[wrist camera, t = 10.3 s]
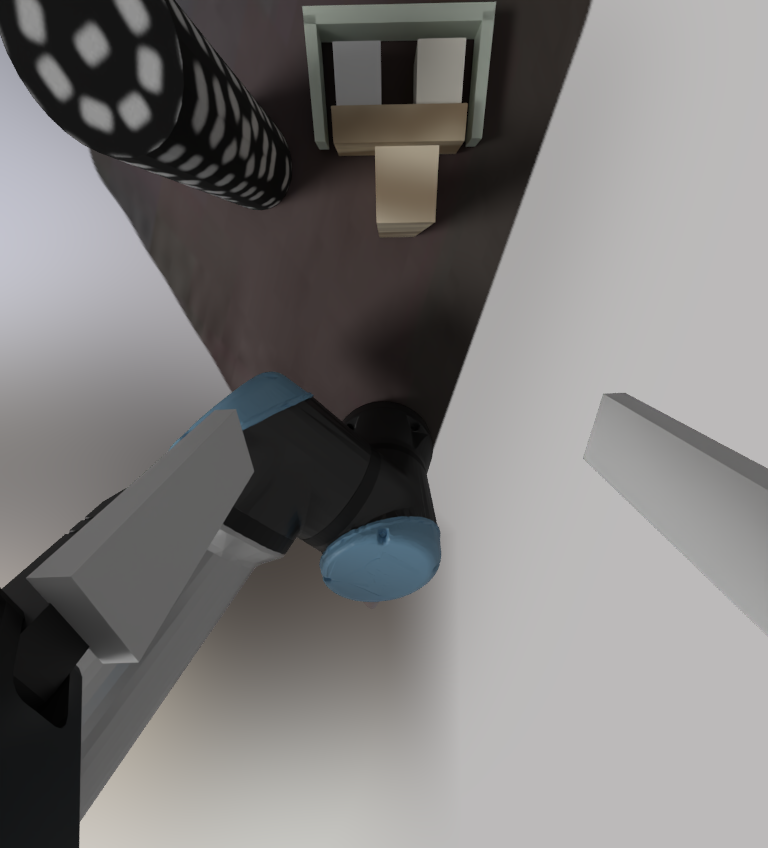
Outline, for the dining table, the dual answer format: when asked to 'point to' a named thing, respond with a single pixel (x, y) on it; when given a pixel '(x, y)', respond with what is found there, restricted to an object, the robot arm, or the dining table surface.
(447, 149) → the cream t-shaped block
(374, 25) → the bay
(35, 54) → the spotted tube
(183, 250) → the dining table surface
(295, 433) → the robot arm
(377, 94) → the gray cube
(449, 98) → the off-white cube
